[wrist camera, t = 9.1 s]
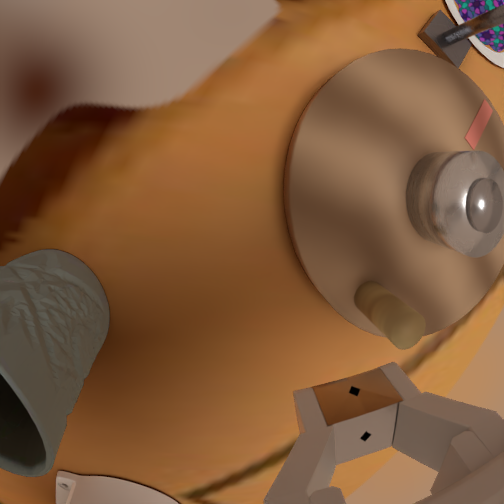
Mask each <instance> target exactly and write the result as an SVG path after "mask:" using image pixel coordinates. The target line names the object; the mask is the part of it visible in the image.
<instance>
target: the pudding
mask: <svg viewBox="0 0 504 504" xmlns="http://www.w3.org/2000/svg"><path fill="white" fill-rule="evenodd" d="M445 1H446V3H447V5H448V8H449V9H450V11H451V13H452V15H453V17H454V18H455V20H456V21H457V23H458V24H459V25H460V24H462V23H464V21H465V22H466V21H468V20H470V19H472V18H474V17H477V16H479V15H481V14H483V13H485V12H487V11H490V10H492V9H494V8H497V7H499V6H501V5H504V0H455V1H456V3H457V4H458V5H459V12H458V11H457V8H456V6H455V4H454V1H453V0H445ZM459 13H460V14H459ZM460 15H461V16H460ZM461 17H462V18H461ZM463 20H464V21H463ZM475 36H476V37H477V38H478V39H479V40H480V41H481V42H482V43H483V44H485V45H490V46H491V47H492V48H493V50H495V51H497V52H500V51H502V50H503V49H504V24H501V25H499V26H496V27H493V28H491V29H488V30H486V31H483V32H481V33H478V34H476V35H475ZM475 36H474V35H473V36H471V37H469V39H470V41H471V42H472V43H473V44H474V46H475V47H476V48H477V49H478V50H479V51H480V52H481V53H482V54H483V55H484V56H486V57H487V58H488V59H489V60H490V61H492V62H493V63H495V64H496V65H498V66H500V67H502V68H504V52H503V53H497V52H494V51H492V50H490V49H488V48H487V47H486V46H484V45H483V44H482V43H481V42H480V41H479V40H478V39H477V38H476V37H475Z"/></svg>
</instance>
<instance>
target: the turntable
mask: <svg viewBox="0 0 504 504" xmlns="http://www.w3.org/2000/svg"><path fill="white" fill-rule="evenodd" d="M449 151H484V152H487V153H489V154H490V155H492V156H493V157H494V158H495V159H496V160H497V161H498V162H499V164H500V165H501V167H502V169H503V171H504V125H503V123H502V121H501V119H500V117H499V115H498V113H497V111H496V110H495V108H494V107H493V105H492V103H491V102H490V100H489V99H488V98H487V96H486V95H485V94H484V93H483V91H482V90H481V89H480V88H479V87H478V86H477V85H476V84H475V83H474V81H473V80H472V79H471V78H469V77H468V76H467V75H466V74H465V73H463V72H462V71H461V70H460V69H458V68H457V67H455V66H454V65H452V64H450V63H449V62H447V61H445V60H443V59H441V58H439V57H437V56H434V55H432V54H429V53H425V52H421V51H418V50H410V49H388V50H382V51H378V52H374V53H371V54H368V55H366V56H364V57H361V58H359V59H357V60H355V61H353V62H352V63H351V64H349V65H348V66H346V67H345V68H343V69H342V70H341V71H339V72H338V73H337V74H336V75H334V76H333V77H332V78H331V79H329V80H328V81H327V82H326V83H325V84H324V85H323V86H322V87H321V88H320V89H319V90H318V91H317V92H316V94H315V95H314V96H313V98H312V99H311V101H310V102H309V103H308V105H307V106H306V108H305V109H304V111H303V113H302V115H301V117H300V119H299V121H298V123H297V125H296V128H295V131H294V134H293V137H292V139H291V142H290V145H289V150H288V155H287V160H286V165H285V177H284V202H285V213H286V219H287V224H288V230H289V234H290V237H291V240H292V243H293V246H294V250H295V252H296V254H297V257H298V259H299V261H300V263H301V265H302V267H303V269H304V271H305V272H306V274H307V276H308V277H309V279H310V280H311V282H312V283H313V285H314V286H315V287H316V288H317V290H318V291H319V292H320V293H321V294H322V295H323V297H324V298H325V299H326V300H327V301H328V302H329V304H330V305H331V306H332V307H333V308H334V309H335V310H336V311H337V312H338V313H339V314H340V315H341V316H343V317H344V318H345V319H346V320H347V321H349V322H350V323H352V324H354V325H355V326H357V327H358V328H360V329H362V330H364V331H367V332H369V333H372V334H374V335H377V336H382V337H387V338H388V339H389V340H390V341H391V342H392V343H393V344H394V345H395V346H396V347H397V348H398V349H408V348H411V347H413V346H414V345H415V344H416V343H418V341H419V340H420V339H421V337H422V336H425V335H429V334H433V333H435V332H437V331H440V330H442V329H444V328H446V327H448V326H449V325H451V324H453V323H454V322H456V321H458V320H459V319H460V318H462V317H463V316H464V315H465V314H467V313H468V312H469V311H470V310H471V309H472V308H473V307H474V306H475V305H476V304H477V303H478V302H479V301H480V300H481V299H482V297H483V296H484V295H485V294H486V292H487V291H488V290H489V288H490V287H491V285H492V284H493V282H494V281H495V279H496V277H497V276H498V274H499V272H500V270H501V268H502V266H503V264H504V234H503V236H502V238H501V240H500V242H499V243H498V244H497V246H496V247H495V248H494V249H493V250H492V251H491V252H490V253H488V254H486V255H485V256H482V257H477V258H476V257H470V256H467V255H464V254H462V253H459V252H456V251H454V250H451V249H448V248H446V247H443V246H440V245H438V244H435V243H432V242H429V241H427V240H425V239H424V238H422V237H421V236H420V235H419V234H418V233H417V232H416V231H415V229H414V228H413V226H412V224H411V222H410V219H409V216H408V213H407V208H406V188H407V182H408V179H409V176H410V174H411V171H412V169H413V168H414V166H415V165H416V163H417V162H418V161H419V160H420V159H421V158H422V157H424V156H425V155H427V154H429V153H433V152H449Z"/></svg>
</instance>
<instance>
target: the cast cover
mask: <svg viewBox="0 0 504 504" xmlns="http://www.w3.org/2000/svg"><path fill="white" fill-rule="evenodd" d="M406 208H407V213H408V216H409V219H410V222H411V224H412V226H413V228H414V229H415V231H416V232H417V233H418V234H419V235H420V236H421V237H422V238H424V239H425V240H427V241H429V242H432V243H435V244H438V245H440V246H443V247H446V248H448V249H451V250H454V251H456V252H459V253H462V254H464V255H467V256H470V257H476V258H477V257H482V256H485V255H486V254H488V253H490V252H491V251H492V250H493V249H494V248H495V247H496V246H497V244H498V243H499V242H500V240H501V238H502V236H503V234H504V171H503V169H502V167H501V165H500V164H499V162H498V161H497V160H496V159H495V158H494V157H493V156H492V155H490V154H489V153H487V152H484V151H449V152H433V153H429V154H427V155H425V156H424V157H422V158H421V159H420V160H419V161H418V162H417V163H416V165H415V166H414V168H413V169H412V171H411V174H410V176H409V179H408V182H407V188H406Z"/></svg>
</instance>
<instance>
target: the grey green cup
mask: <svg viewBox="0 0 504 504" xmlns="http://www.w3.org/2000/svg"><path fill="white" fill-rule="evenodd" d="M109 315H110V312H109V305H108V301H107V297H106V295H105V292H104V290H103V288H102V286H101V284H100V282H99V280H98V279H97V277H96V276H95V274H94V273H93V272H92V271H91V270H90V269H89V267H88V266H86V265H85V264H84V263H83V262H82V261H80V260H79V259H78V258H76V257H75V256H73V255H71V254H69V253H66V252H63V251H60V250H55V249H45V250H39V251H36V252H33V253H30V254H27V255H24V256H22V257H20V258H17V259H15V260H13V261H11V262H9V263H8V264H7V265H6V266H0V468H2V469H4V470H6V471H9V472H12V473H14V474H18V475H22V476H26V477H38V476H43V475H45V474H47V473H48V472H49V471H50V470H51V469H52V466H53V464H54V460H55V457H56V454H57V451H58V448H59V445H60V442H61V439H62V437H63V434H64V431H65V428H66V426H67V418H66V415H68V414H70V413H72V410H73V408H74V405H75V403H76V402H77V399H78V397H79V394H80V392H81V388H82V387H83V385H84V379H85V378H86V377H87V376H88V374H89V373H90V369H91V367H92V364H93V362H94V361H95V358H96V356H97V354H98V352H99V350H100V349H101V347H102V345H103V343H104V341H105V339H106V336H107V333H108V329H109V320H110V318H109Z"/></svg>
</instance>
